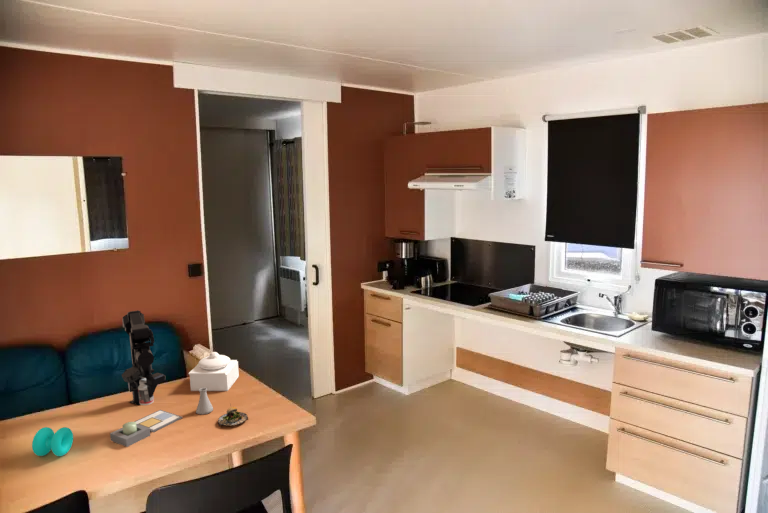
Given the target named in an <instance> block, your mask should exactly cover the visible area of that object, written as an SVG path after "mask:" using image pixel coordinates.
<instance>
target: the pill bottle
mask: <svg viewBox="0 0 768 513" xmlns="http://www.w3.org/2000/svg"><path fill="white" fill-rule="evenodd" d="M144 383H146V378H144V379H141V380H140V381H139V384H140V385H139V387H138V393H139V403H140V405H139V406H149V405H152V404H153V403H154V402H155V400H154V399H155V397H154V394H153V396H152V397H149V394H148V389H147V386H146V385H144Z"/></svg>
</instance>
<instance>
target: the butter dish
mask: <svg viewBox="0 0 768 513" xmlns="http://www.w3.org/2000/svg"><path fill="white" fill-rule="evenodd" d="M188 375H189V384H190V392H199V389H201V388H207V391H206V392H229V390H230V389H231V388H232V386H233V385H234V383H235V382H236V381H237V380H238V379H239V377H240V374H239V361H238V359H231V358H230V357H229V356H227V355H225V354H219V353H218V352H217V351H211V353H210V354H209V355H208V356H205V357H203V358H200V360H198V364H197V365H195V367H193V369H191V370H190V371H189V372H188Z"/></svg>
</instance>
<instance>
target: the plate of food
mask: <svg viewBox="0 0 768 513" xmlns="http://www.w3.org/2000/svg"><path fill="white" fill-rule="evenodd" d="M229 404H230V407H229V408H228V409H226V413H223V414H222V415H221V416H219V418H218V419H217V425H218V427H220V428H221V427H222V426H227V427H233V426H238V425H240V424H242V423H243V422H245V421H246V420H248V421H249V416H248V414H247V413H245V412H243V411H238V408H237V407H236V406H232V404H231V403H229Z"/></svg>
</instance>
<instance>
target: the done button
mask: <svg viewBox="0 0 768 513" xmlns="http://www.w3.org/2000/svg"><path fill="white" fill-rule="evenodd" d="M122 428H123V434H124V435H127V436H129V435H131V434H133V433H135V432H137V426H136V422H134V421H128V422H125V423H123V425H122Z"/></svg>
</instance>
